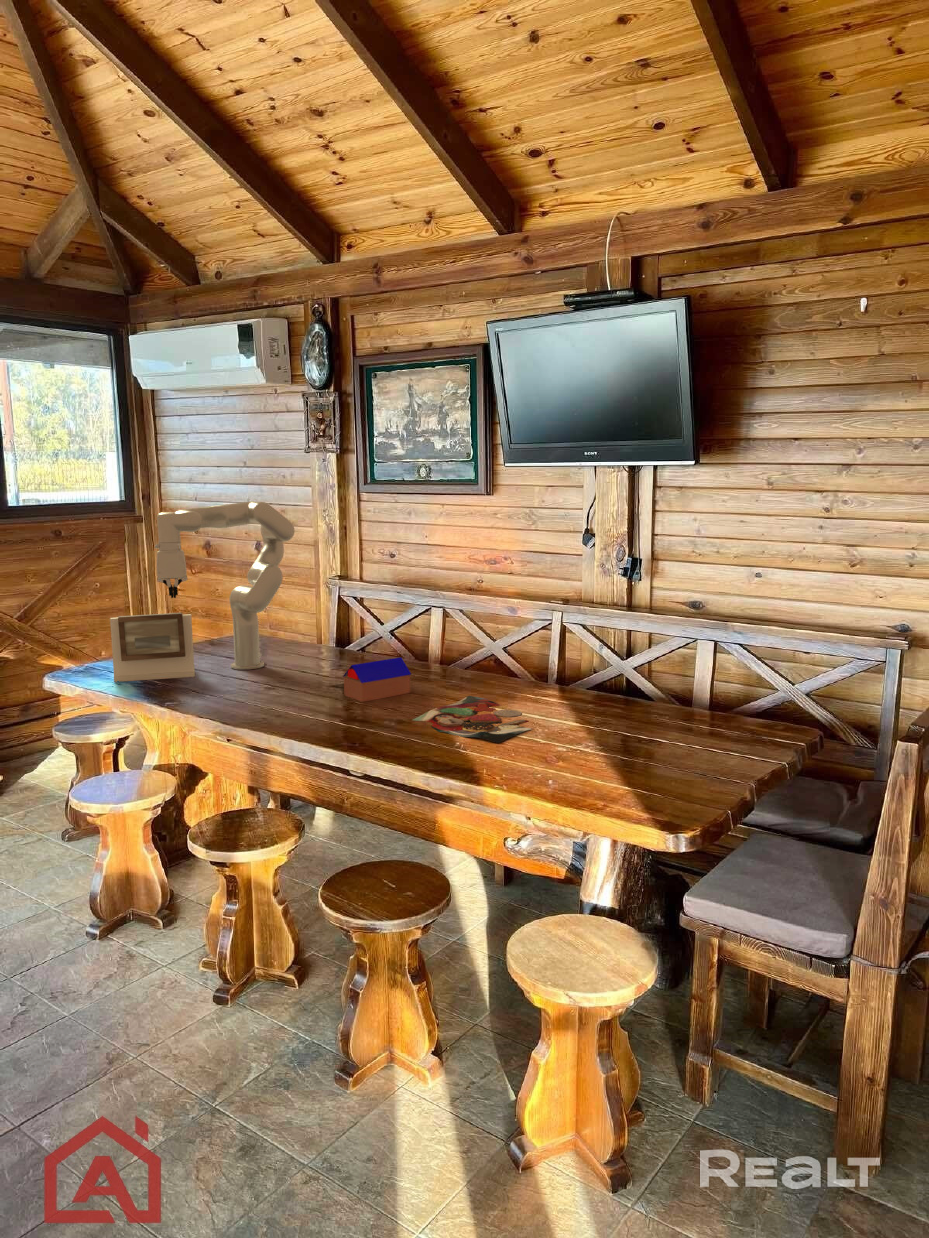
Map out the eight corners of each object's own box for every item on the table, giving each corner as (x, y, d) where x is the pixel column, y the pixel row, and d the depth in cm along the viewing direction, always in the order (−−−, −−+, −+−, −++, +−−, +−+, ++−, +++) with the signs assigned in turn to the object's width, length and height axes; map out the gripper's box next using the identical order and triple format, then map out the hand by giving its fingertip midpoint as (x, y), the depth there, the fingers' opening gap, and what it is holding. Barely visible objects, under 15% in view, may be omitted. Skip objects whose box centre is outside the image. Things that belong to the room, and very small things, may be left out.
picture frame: (122, 659, 331) (118, 616, 328) (185, 655, 337) (182, 612, 334) (121, 661, 328) (117, 617, 326) (185, 656, 334) (182, 613, 332)
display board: (116, 677, 338) (111, 615, 335) (194, 672, 346) (191, 612, 342) (114, 681, 331) (109, 619, 327) (194, 676, 338) (191, 615, 334)
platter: (400, 726, 274) (400, 719, 274) (469, 701, 303) (469, 696, 303) (498, 746, 254) (498, 739, 253) (562, 718, 282) (562, 711, 282)
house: (411, 693, 313) (411, 659, 311) (362, 702, 300) (361, 668, 298) (392, 686, 322) (391, 654, 320) (343, 695, 309) (342, 662, 308)
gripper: (147, 548, 322) (151, 600, 326) (191, 547, 326) (194, 597, 330) (148, 547, 330) (152, 597, 333) (191, 545, 334) (195, 595, 337)
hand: (173, 597), depth 331 cm, fingers closed
